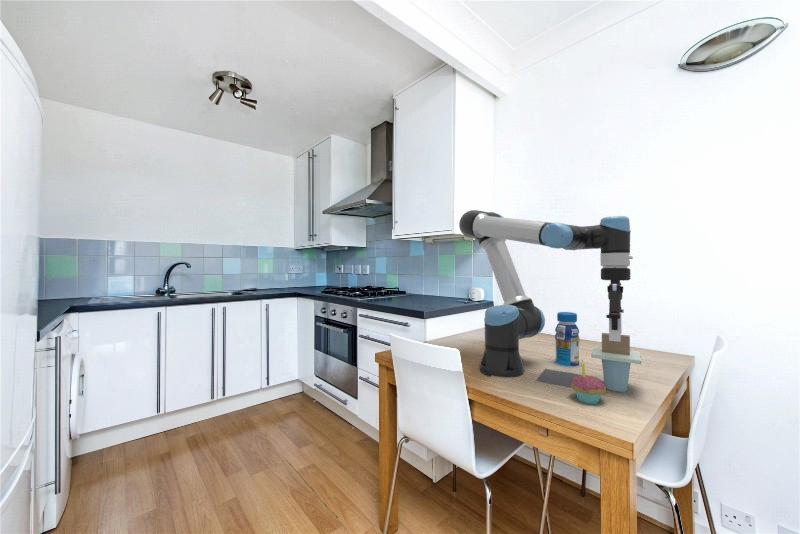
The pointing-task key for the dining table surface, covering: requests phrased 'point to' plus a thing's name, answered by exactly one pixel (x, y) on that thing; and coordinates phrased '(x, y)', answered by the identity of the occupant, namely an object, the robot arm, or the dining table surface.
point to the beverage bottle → (567, 340)
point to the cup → (616, 375)
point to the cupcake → (587, 387)
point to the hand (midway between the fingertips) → (615, 336)
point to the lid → (616, 350)
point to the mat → (556, 377)
